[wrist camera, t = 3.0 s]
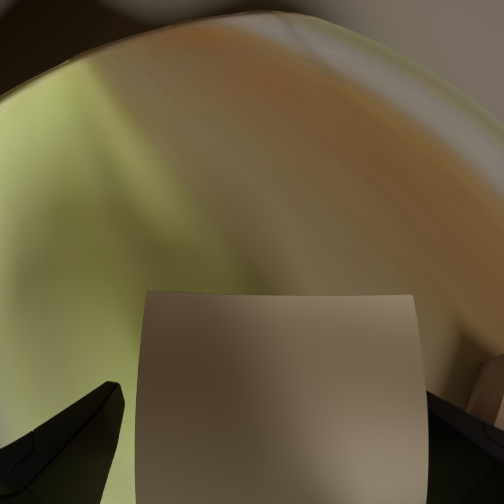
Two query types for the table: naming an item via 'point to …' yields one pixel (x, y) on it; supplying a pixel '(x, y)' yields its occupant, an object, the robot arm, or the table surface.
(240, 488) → the birch block
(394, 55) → the table surface
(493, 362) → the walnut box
